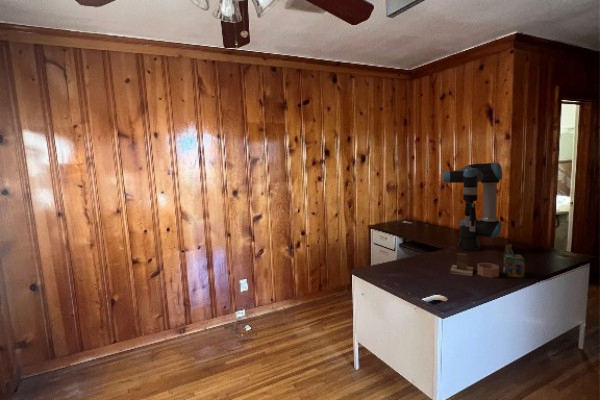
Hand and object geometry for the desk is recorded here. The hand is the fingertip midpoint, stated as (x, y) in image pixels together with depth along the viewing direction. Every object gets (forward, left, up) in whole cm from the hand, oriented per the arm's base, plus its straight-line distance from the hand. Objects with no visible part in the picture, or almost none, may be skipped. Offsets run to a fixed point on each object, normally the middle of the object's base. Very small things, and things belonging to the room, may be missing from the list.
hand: (469, 228), depth 193 cm
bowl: (+1, +10, -27) cm, 29 cm away
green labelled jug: (-4, +23, -28) cm, 36 cm away
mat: (+1, -4, -27) cm, 28 cm away
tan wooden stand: (+1, -4, -27) cm, 27 cm away
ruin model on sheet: (-42, +22, -28) cm, 55 cm away
